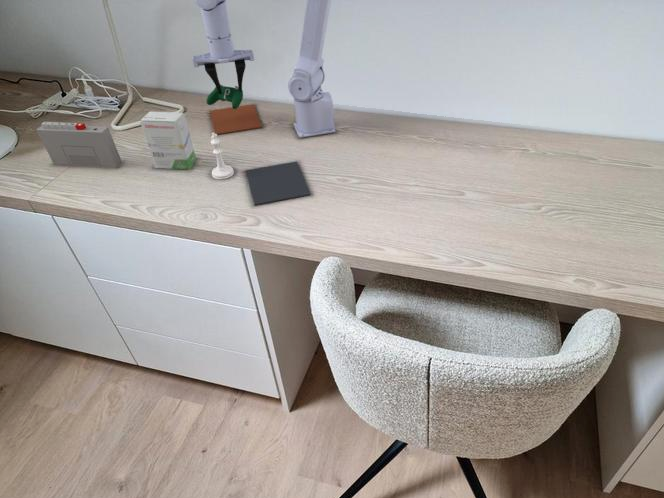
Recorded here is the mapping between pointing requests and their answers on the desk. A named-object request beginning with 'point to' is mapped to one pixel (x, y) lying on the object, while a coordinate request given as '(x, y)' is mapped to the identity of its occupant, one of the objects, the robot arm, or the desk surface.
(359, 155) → the desk surface
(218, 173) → the chess piece
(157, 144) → the ink box
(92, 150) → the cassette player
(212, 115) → the cork mat
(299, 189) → the slate mat
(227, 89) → the gaming controller
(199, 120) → the desk surface
